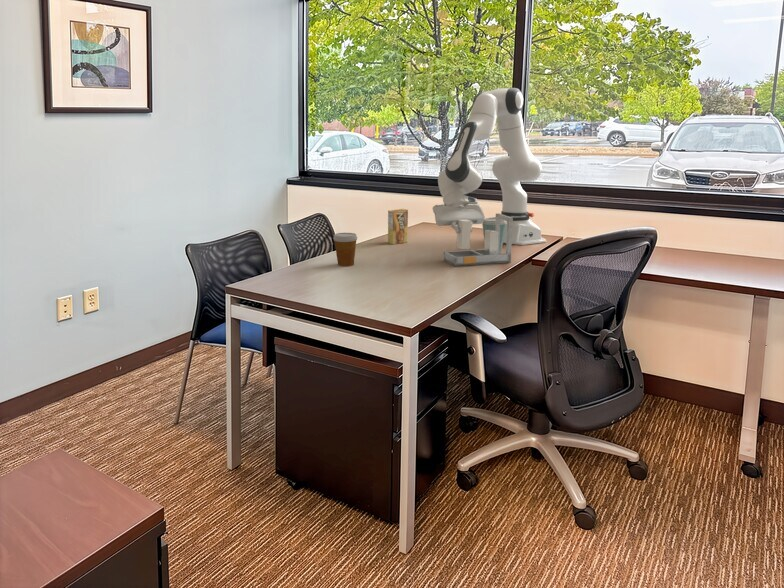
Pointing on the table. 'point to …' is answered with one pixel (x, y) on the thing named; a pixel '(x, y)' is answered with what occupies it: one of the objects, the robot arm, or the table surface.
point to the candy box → (397, 226)
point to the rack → (485, 248)
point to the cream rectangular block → (464, 234)
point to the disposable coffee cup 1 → (345, 248)
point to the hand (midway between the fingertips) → (464, 232)
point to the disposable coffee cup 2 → (490, 225)
